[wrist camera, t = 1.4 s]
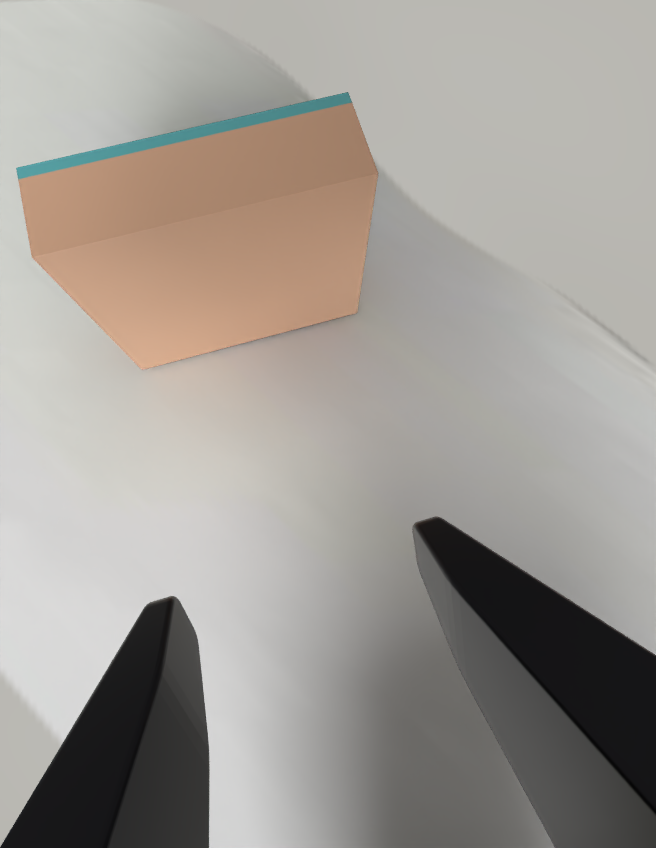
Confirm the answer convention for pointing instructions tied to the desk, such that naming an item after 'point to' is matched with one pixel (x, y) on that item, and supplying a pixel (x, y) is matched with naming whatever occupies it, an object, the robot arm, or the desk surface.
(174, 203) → the tile
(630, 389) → the desk surface
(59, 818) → the robot arm
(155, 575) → the desk surface
